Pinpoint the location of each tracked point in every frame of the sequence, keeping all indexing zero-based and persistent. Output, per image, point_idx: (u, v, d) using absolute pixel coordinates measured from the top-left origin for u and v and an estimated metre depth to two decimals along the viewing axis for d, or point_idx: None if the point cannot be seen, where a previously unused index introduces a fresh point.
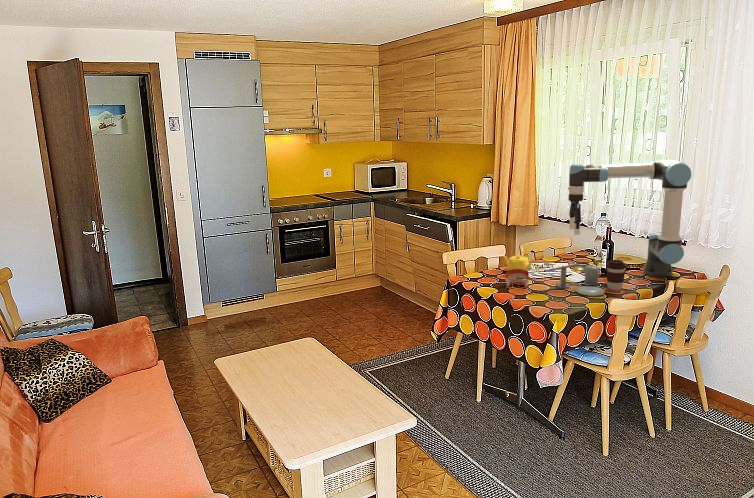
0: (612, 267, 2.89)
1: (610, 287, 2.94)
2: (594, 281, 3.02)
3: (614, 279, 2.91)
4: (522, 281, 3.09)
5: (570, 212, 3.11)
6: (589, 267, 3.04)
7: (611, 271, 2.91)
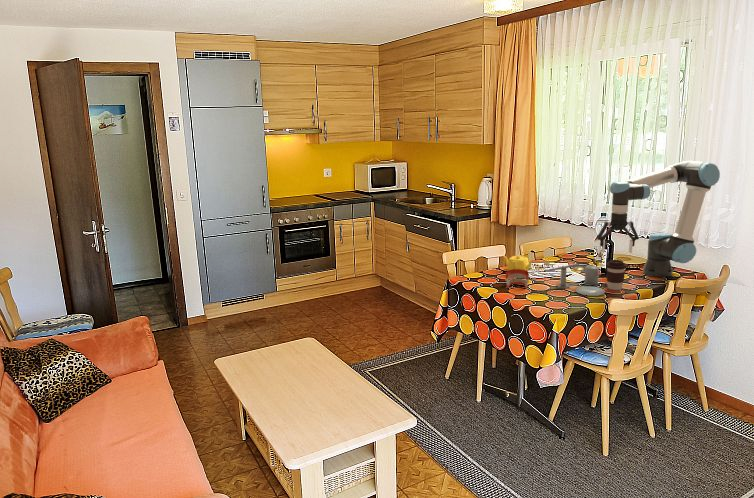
0: (612, 267, 2.89)
1: (610, 287, 2.94)
2: (594, 281, 3.02)
3: (614, 279, 2.91)
4: (522, 281, 3.09)
5: (634, 234, 2.88)
6: (589, 267, 3.04)
7: (611, 271, 2.91)
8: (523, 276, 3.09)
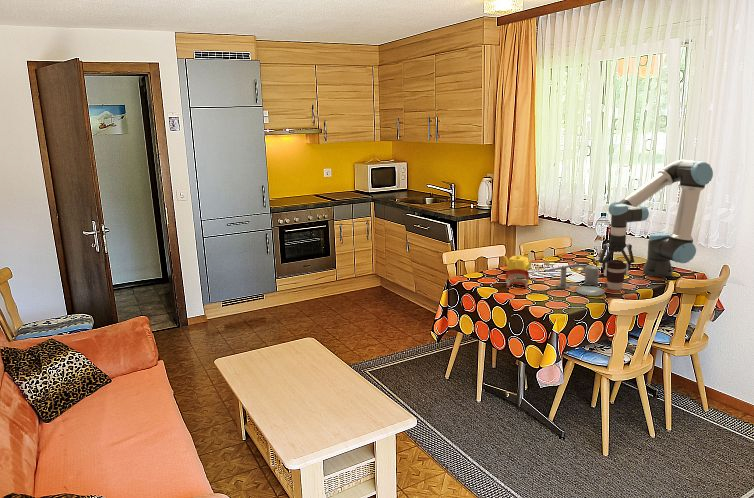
0: (612, 267, 2.89)
1: (610, 287, 2.94)
2: (594, 281, 3.02)
3: (614, 279, 2.91)
4: (522, 281, 3.09)
5: (630, 257, 2.92)
6: (589, 267, 3.04)
7: (611, 271, 2.91)
8: (523, 276, 3.09)
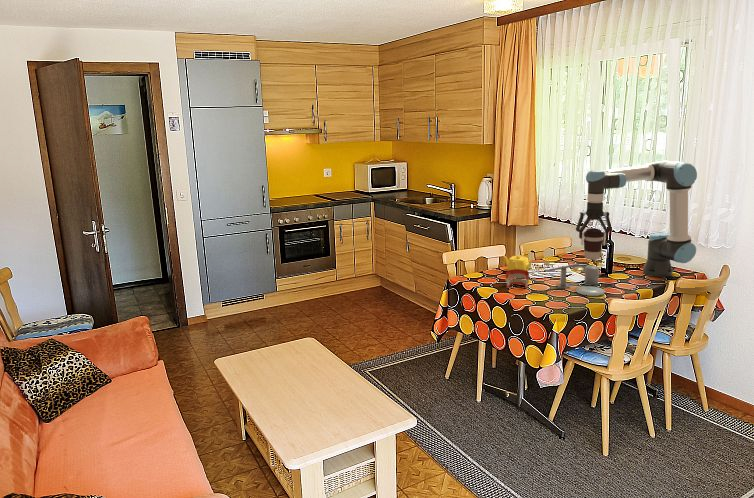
0: (589, 235, 2.80)
1: (587, 256, 2.85)
2: (594, 281, 3.02)
3: (591, 248, 2.82)
4: (522, 281, 3.09)
5: None
6: (589, 267, 3.04)
7: (588, 240, 2.82)
8: (523, 276, 3.09)
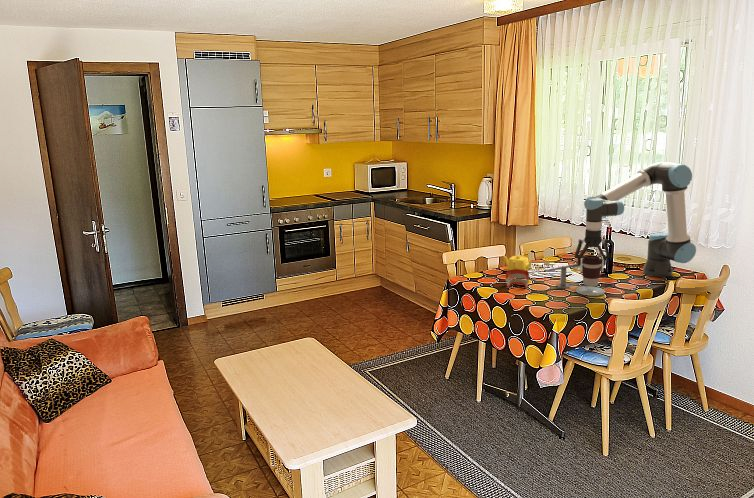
0: (587, 262, 2.84)
1: (586, 283, 2.88)
2: None
3: (589, 275, 2.85)
4: (522, 281, 3.09)
5: None
6: None
7: (587, 266, 2.85)
8: (523, 276, 3.09)
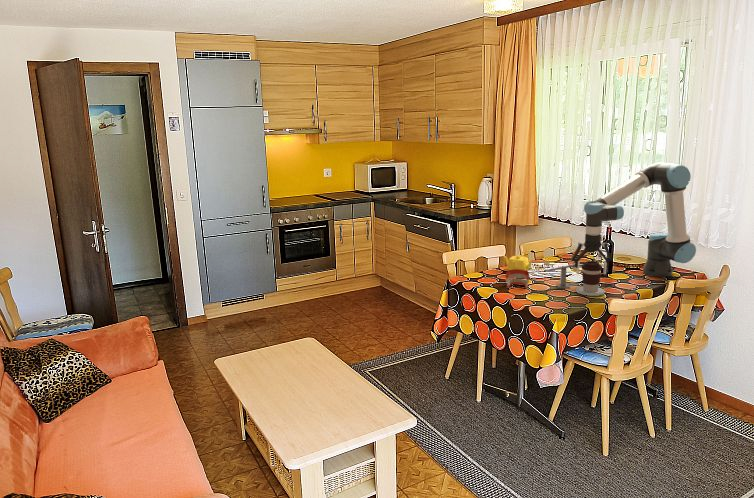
0: (587, 269, 2.84)
1: (586, 289, 2.89)
2: None
3: (589, 281, 2.86)
4: (522, 281, 3.09)
5: (608, 256, 2.86)
6: None
7: (587, 273, 2.86)
8: (523, 276, 3.09)
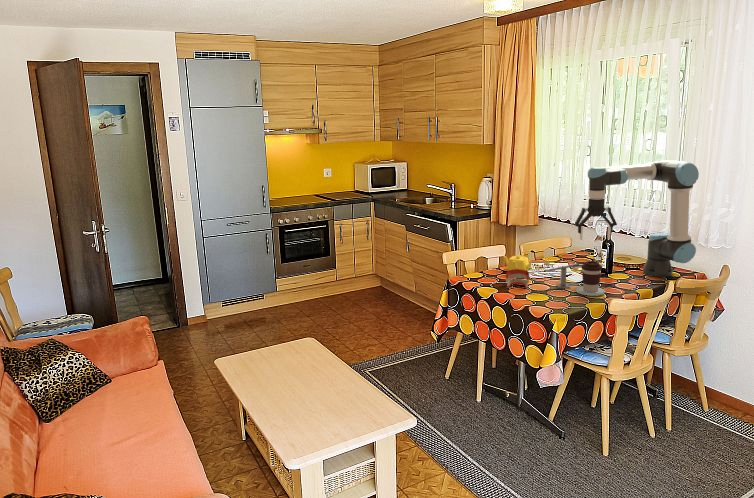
0: (587, 269, 2.84)
1: (586, 289, 2.89)
2: None
3: (589, 281, 2.86)
4: (522, 281, 3.09)
5: (612, 220, 2.83)
6: None
7: (587, 273, 2.86)
8: (523, 276, 3.09)
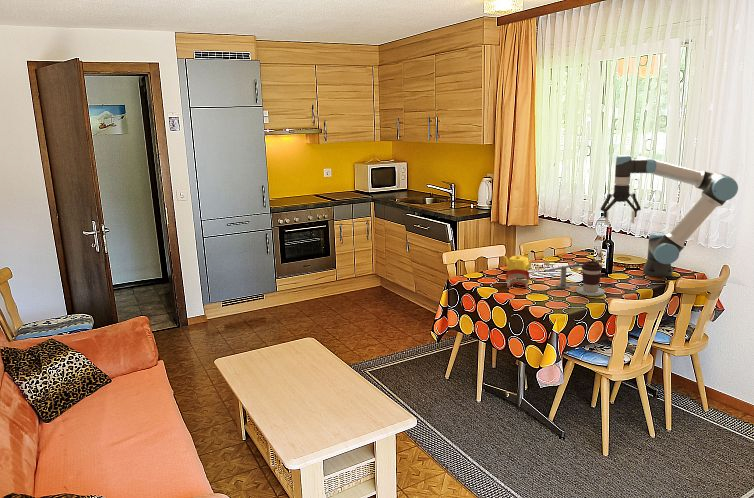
0: (587, 269, 2.84)
1: (586, 289, 2.89)
2: None
3: (589, 281, 2.86)
4: (522, 281, 3.09)
5: (636, 206, 3.01)
6: None
7: (587, 273, 2.86)
8: (523, 276, 3.09)
